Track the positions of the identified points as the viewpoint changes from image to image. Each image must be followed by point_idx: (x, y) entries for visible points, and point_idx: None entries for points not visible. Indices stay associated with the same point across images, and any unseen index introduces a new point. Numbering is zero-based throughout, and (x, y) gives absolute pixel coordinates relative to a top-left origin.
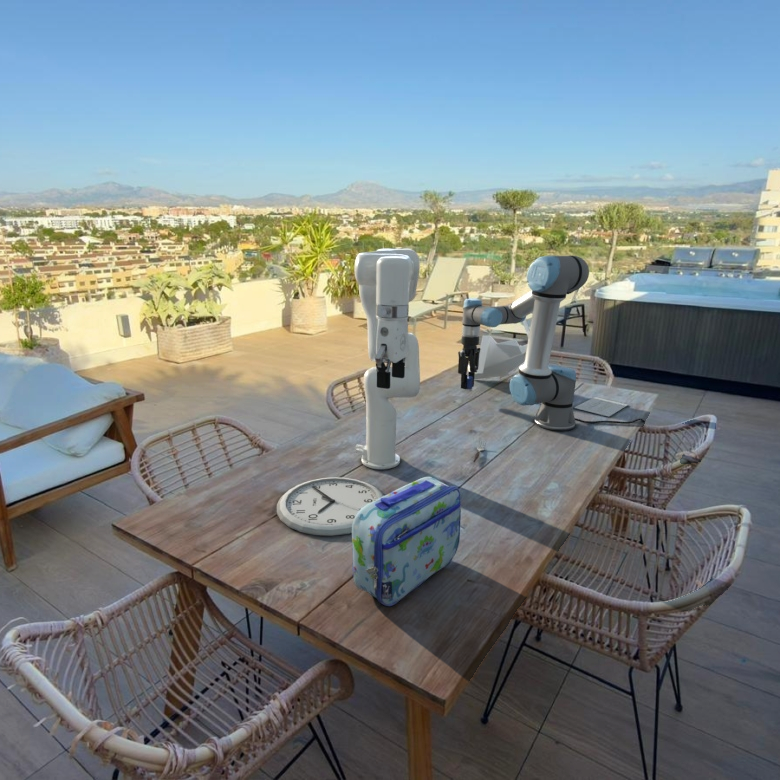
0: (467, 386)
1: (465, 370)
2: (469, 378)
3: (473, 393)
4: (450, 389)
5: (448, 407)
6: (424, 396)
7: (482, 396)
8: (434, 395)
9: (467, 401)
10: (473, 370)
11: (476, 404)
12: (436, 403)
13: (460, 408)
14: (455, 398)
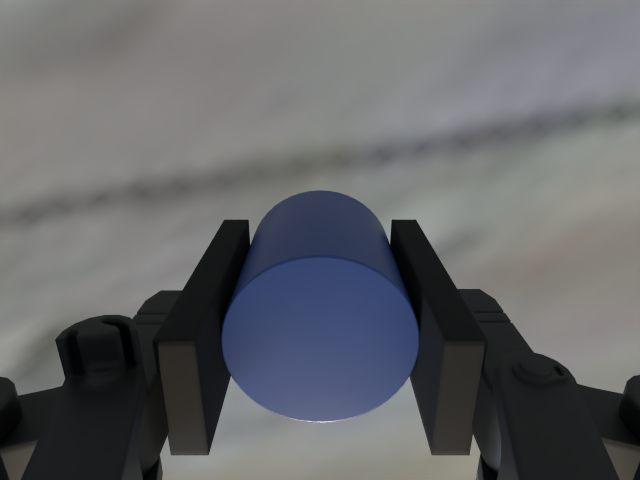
0: (383, 231)
1: (604, 448)
2: (378, 276)
3: (103, 271)
4: None
5: (637, 190)
6: None
7: (97, 156)
8: (414, 442)
9: (352, 169)
10: (145, 401)
11: (369, 39)
12: (591, 324)
13: (599, 86)
14: None
